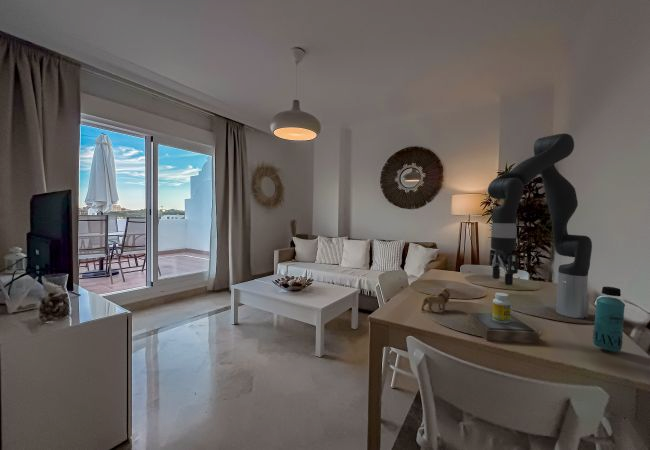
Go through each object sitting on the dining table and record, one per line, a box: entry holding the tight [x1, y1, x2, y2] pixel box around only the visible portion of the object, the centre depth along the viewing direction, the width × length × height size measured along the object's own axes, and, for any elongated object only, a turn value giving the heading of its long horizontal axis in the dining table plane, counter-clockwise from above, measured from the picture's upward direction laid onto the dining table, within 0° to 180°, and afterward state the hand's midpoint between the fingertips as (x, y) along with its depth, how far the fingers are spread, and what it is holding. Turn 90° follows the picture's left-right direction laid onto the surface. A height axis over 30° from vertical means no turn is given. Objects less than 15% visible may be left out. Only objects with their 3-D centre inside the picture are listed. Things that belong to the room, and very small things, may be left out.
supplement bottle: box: [492, 292, 511, 323], centre depth 100 cm, size 5×5×10 cm
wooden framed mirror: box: [467, 312, 540, 344], centre depth 101 cm, size 16×16×4 cm
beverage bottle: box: [592, 286, 626, 352], centre depth 87 cm, size 6×7×20 cm
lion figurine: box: [420, 287, 451, 313], centre depth 122 cm, size 15×5×9 cm, turn 112°
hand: (501, 281), depth 100 cm, fingers open, 8 cm apart
